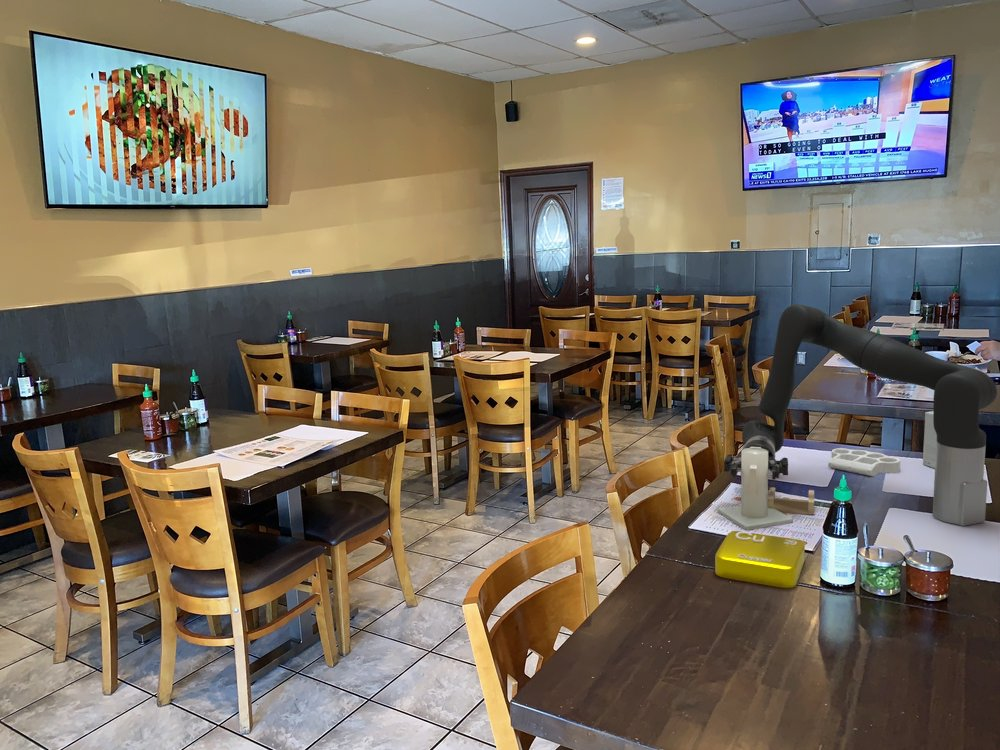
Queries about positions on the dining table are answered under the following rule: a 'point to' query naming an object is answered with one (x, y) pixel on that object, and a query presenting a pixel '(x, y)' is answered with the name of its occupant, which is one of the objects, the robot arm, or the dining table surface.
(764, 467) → the jug
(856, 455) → the knuckle duster
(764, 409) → the robot arm
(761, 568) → the element tile
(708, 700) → the dining table surface
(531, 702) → the dining table surface
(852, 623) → the dining table surface
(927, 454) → the skincare box
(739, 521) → the plate
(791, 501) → the holder
